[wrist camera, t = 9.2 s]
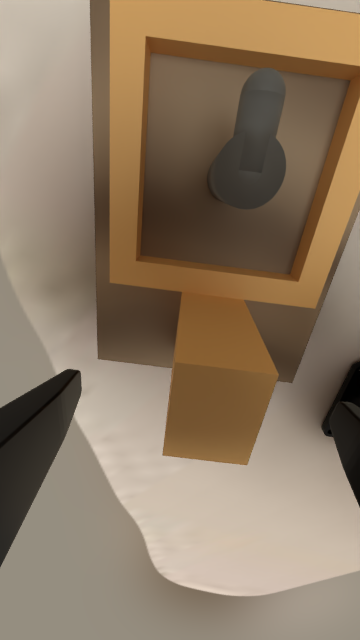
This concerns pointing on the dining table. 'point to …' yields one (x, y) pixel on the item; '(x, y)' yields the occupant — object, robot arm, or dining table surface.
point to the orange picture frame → (213, 280)
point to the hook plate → (190, 210)
